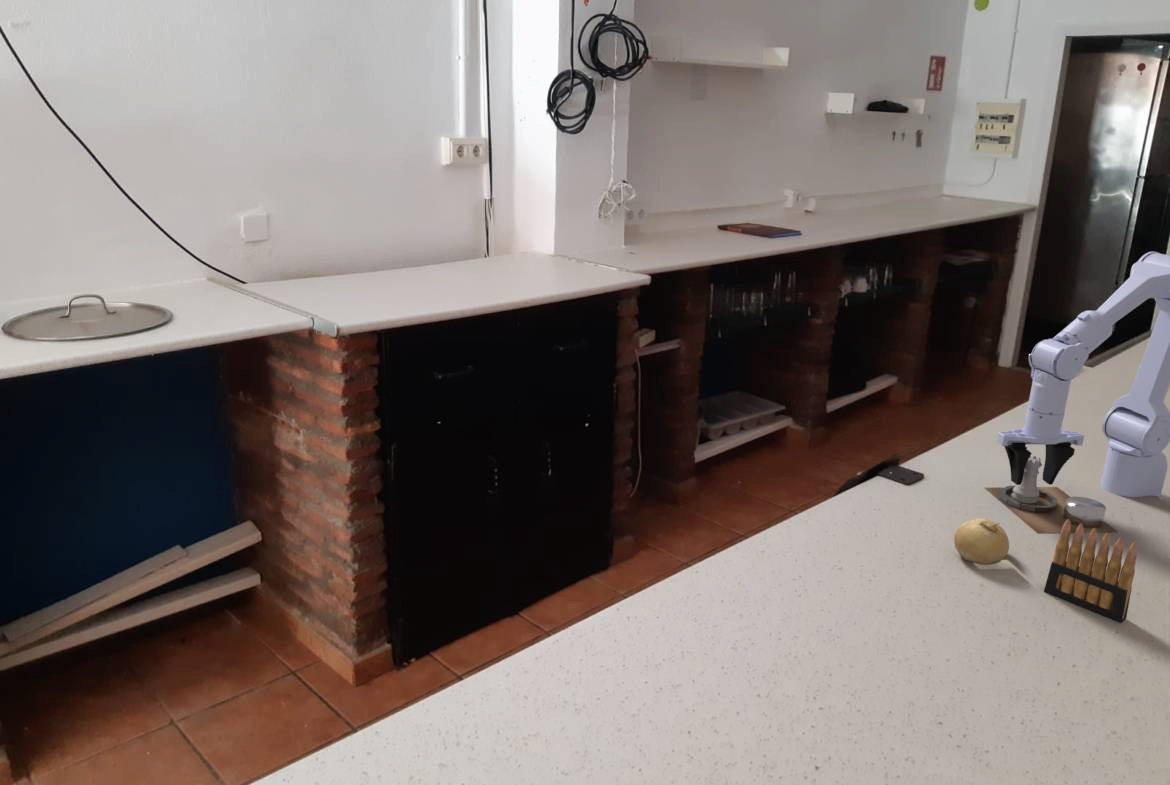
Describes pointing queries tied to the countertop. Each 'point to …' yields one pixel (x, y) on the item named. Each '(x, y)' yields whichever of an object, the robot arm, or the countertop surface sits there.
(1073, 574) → the ammunition clip
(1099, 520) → the silver metal dome
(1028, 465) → the rook chess piece
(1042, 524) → the carrier board
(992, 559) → the onion
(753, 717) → the countertop surface
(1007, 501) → the socket ring
